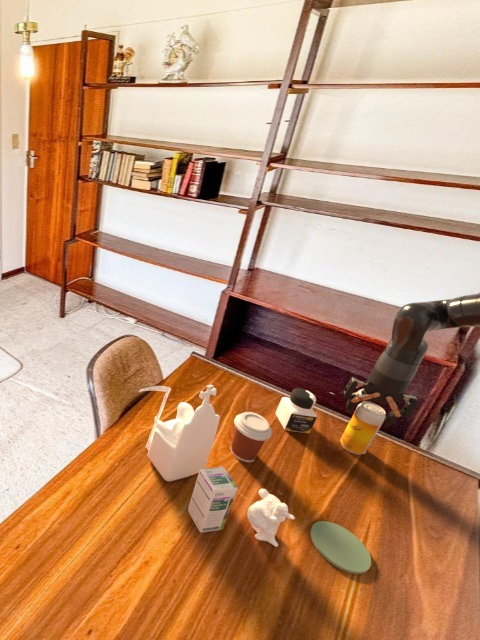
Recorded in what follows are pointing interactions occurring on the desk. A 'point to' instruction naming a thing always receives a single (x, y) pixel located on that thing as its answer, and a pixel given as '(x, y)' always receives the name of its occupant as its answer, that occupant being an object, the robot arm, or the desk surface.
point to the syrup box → (212, 499)
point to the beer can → (363, 427)
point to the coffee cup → (249, 435)
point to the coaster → (340, 547)
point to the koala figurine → (267, 516)
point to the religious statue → (183, 437)
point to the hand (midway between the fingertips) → (367, 417)
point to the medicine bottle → (297, 411)
